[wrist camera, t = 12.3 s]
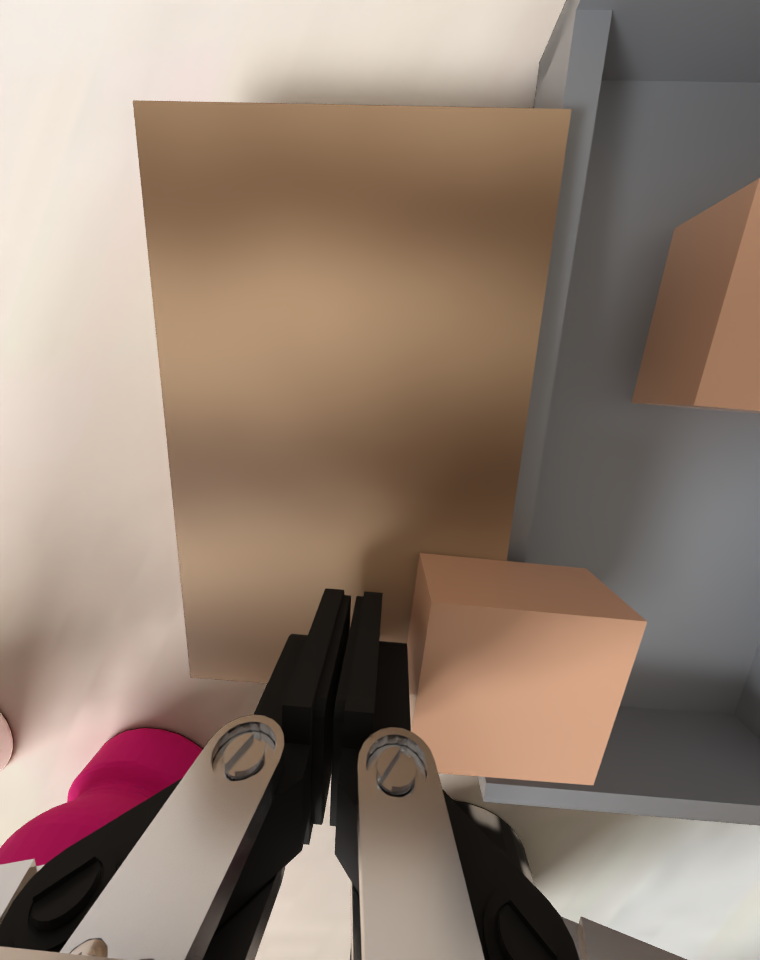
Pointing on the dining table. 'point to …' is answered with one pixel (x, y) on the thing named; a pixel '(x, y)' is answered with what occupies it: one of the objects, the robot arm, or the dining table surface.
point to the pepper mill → (105, 792)
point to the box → (643, 427)
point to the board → (340, 349)
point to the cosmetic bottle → (5, 742)
